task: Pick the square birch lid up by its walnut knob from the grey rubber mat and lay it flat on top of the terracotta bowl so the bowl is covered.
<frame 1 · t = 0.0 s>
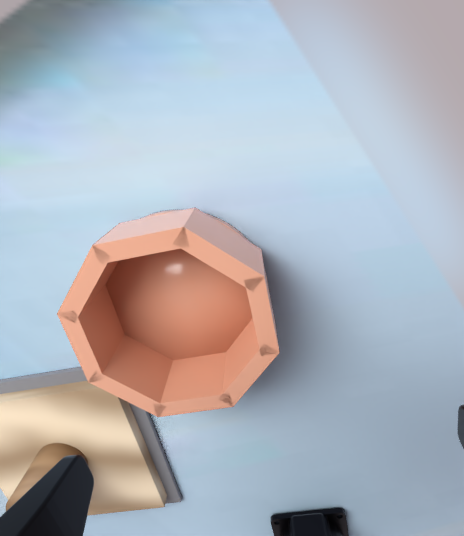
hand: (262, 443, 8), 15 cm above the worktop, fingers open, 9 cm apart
lid: (68, 450, 29), resting on mat
bowl: (184, 291, 23), on the worktop
mat: (71, 446, 29), on the worktop
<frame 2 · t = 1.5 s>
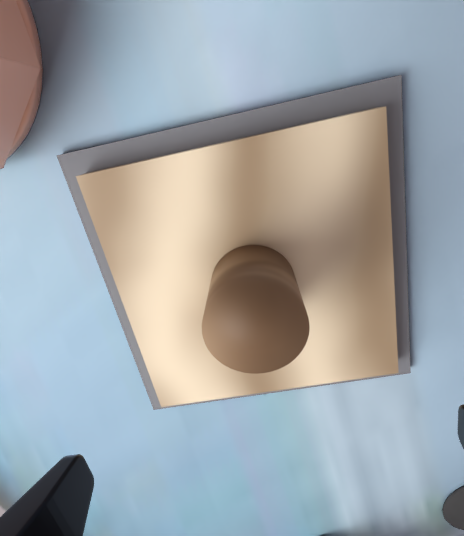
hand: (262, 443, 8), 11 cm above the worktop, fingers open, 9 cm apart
lid: (252, 276, 18), resting on mat
mat: (252, 272, 18), on the worktop
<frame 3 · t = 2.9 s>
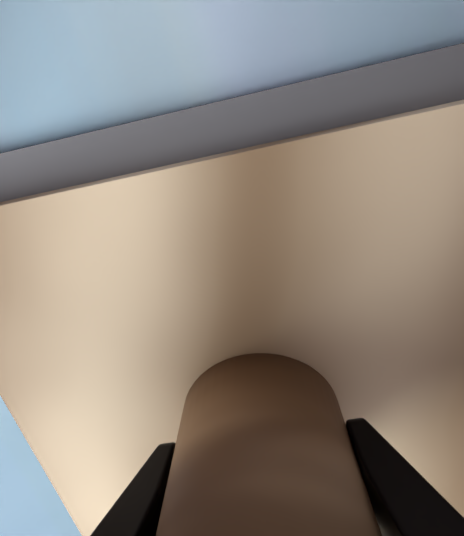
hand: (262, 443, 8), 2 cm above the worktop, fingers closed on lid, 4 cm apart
lid: (259, 390, 10), resting on mat, touching gripper
mat: (258, 380, 10), on the worktop
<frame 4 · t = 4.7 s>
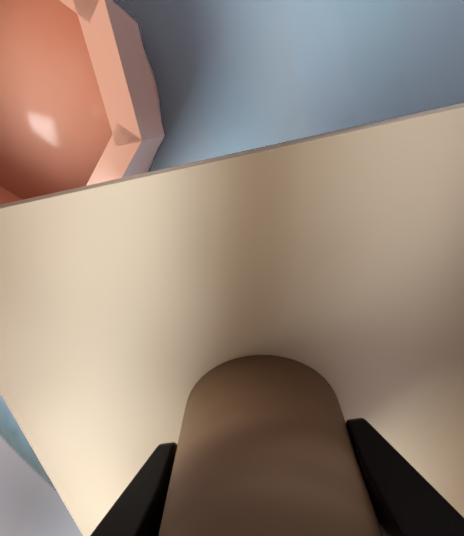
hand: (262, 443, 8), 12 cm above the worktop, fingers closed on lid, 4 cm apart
lid: (260, 391, 10), point 11 cm above the worktop, touching gripper
bowl: (49, 108, 17), on the worktop
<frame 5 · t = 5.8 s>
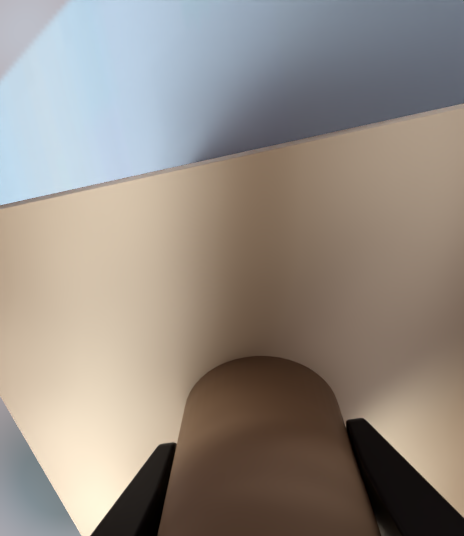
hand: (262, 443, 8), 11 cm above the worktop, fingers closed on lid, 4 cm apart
lid: (259, 392, 10), point 9 cm above the worktop, touching gripper
when the fingers open (8 cm above the worktop, at t = 6.5 s): lid drops 1 cm, resting on bowl.
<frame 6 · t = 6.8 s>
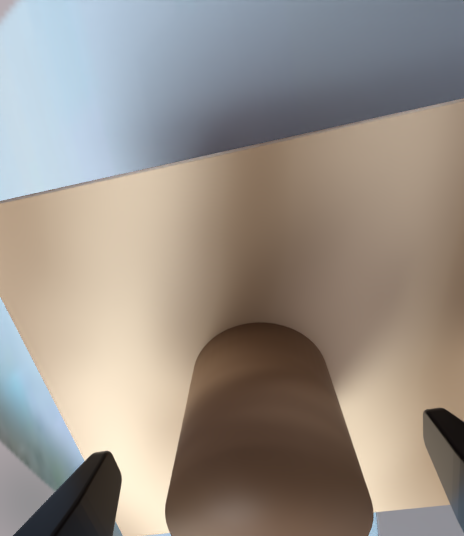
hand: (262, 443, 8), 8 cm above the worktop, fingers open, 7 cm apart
lid: (258, 359, 11), point 5 cm above the worktop, touching bowl
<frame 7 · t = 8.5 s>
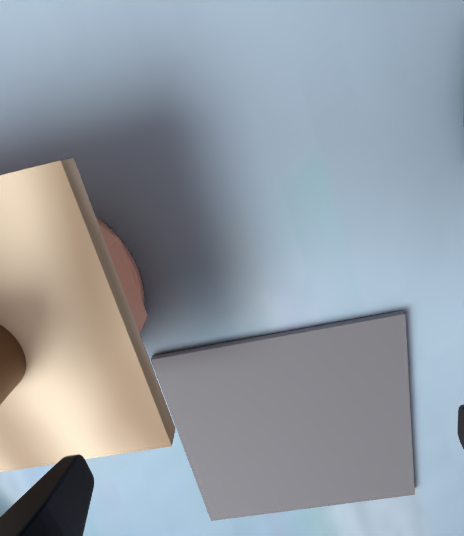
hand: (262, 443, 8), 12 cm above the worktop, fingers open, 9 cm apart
bowl: (48, 290, 20), on the worktop
mat: (292, 428, 24), on the worktop
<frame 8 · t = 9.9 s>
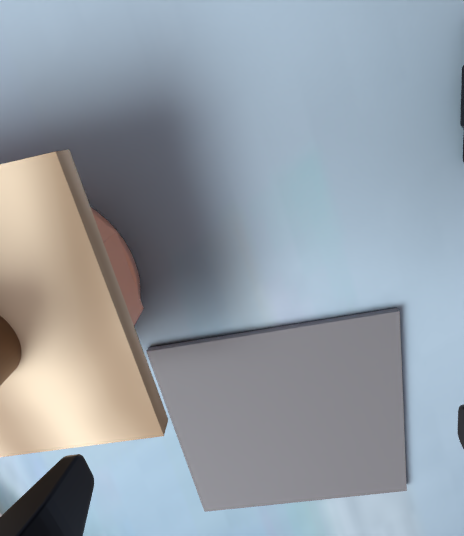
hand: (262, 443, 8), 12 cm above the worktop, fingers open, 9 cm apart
bowl: (46, 281, 20), on the worktop
mat: (286, 422, 24), on the worktop
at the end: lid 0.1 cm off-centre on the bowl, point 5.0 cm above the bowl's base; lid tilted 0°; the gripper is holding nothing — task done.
